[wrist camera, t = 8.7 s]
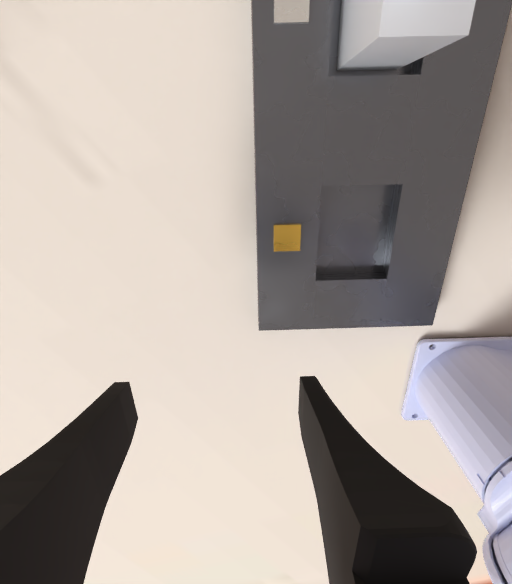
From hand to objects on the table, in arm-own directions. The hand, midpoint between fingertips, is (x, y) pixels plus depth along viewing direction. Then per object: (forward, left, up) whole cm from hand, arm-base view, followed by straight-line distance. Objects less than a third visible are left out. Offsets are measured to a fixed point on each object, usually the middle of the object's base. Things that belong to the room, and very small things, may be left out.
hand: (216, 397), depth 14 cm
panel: (-8, -10, -10) cm, 16 cm away
